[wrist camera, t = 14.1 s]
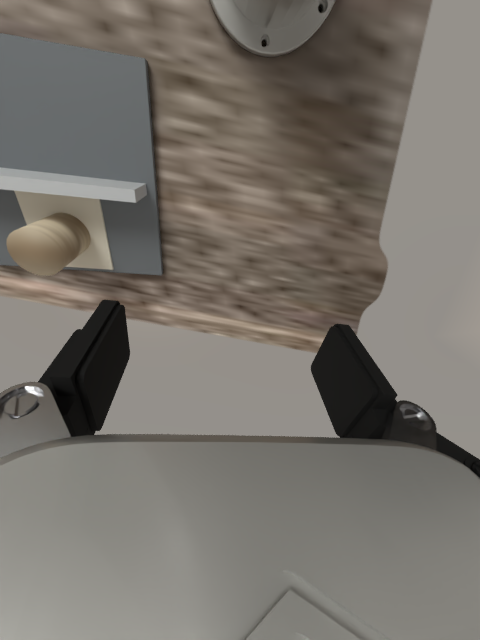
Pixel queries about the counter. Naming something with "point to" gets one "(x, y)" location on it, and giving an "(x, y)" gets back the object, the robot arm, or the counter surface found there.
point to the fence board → (79, 150)
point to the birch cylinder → (48, 243)
